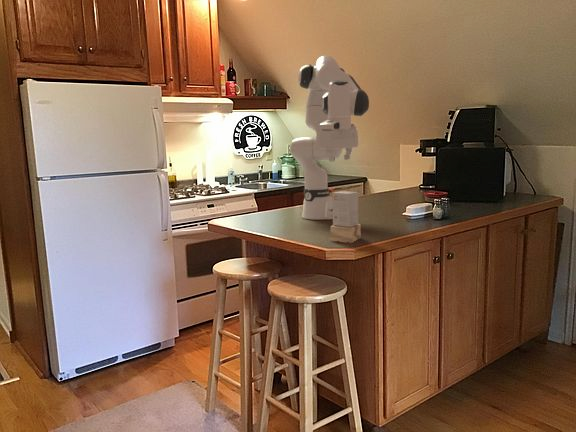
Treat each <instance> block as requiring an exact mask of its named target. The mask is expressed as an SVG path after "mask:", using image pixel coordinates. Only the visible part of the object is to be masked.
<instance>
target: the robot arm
mask: <svg viewBox="0 0 576 432" xmlns="http://www.w3.org/2000/svg"><path fill="white" fill-rule="evenodd" d="M297 80H298V84H299V86H300V88H302V89H306V90H307V89H308V91H307V96H306V103H305V104H306V106H305V124H306V125H305V126H307V127H308V128H309V129H311V130H312V131H315V134H316V136H301V137H297V138H294V139H293V140H292V141H291V142H290V145H289V152H290V155H291V157H293V159H295V160H296V161H297V162H298V164H299V165H300V166H301V169H302V171H303V179H304V188H303V196H304V199H303V204H302V205H303V206H302V213H301V218H302V219H305V220H333V196H331V194H333V192H334V189H333V188H328V182H329V181H328V173H327V171H326V170H325V169H324V168H322V167H321V166H319V165H318V164H317V161H329V162H336V159H338V158H339V157H340V156H341V155H342V153H343V149H345V154H344V155H343V158H344V160H346V161H349V160H350V159H351V154H352V152H353V148H358V145H359V135H358V130H357V127H356V125H355V124H354V123H352V116H354V117H355V116H356V117H362V116H363V115H364V114H366V113H367V112H368V111H369V107H370V100H369V96H368V94H367V92H365V90H363V89H362V88H361V87H360V85H359V84H358V83H357V81H356V80H355V78H354V77H353V76H352V75H350V74H348V73H347V72H345V69H344V68H341V67H340V65H339V63H338V61H337V60H336V59H335V58H334V57H333V56H331V55H327V54H325V55H322V56H320V57H319V58H317V60H316V62H315V64H306V65H303V66H302V67H300V69H299V71H298V75H297Z"/></svg>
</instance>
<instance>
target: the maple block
mask: <svg viewBox="0 0 576 432" xmlns="http://www.w3.org/2000/svg"><path fill="white" fill-rule="evenodd" d="M361 226H362V225H361V223H358V225H355V226H352V227H345V226H337V225H333V224H332V225H330V242H337V241H339V242H341V243H347V242H349V243H348V244H353V243H354V241H355V242H357V241H358V239H359V240H360V239H362V238H361V237H362V234H361V232H362V230H361V229H362V227H361ZM356 240H357V241H356ZM339 242H338V243H339Z"/></svg>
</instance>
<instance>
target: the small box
mask: <svg viewBox="0 0 576 432" xmlns="http://www.w3.org/2000/svg"><path fill="white" fill-rule="evenodd" d="M332 198H333V219H332V225H337V226H345V227H352V226H355V225H358V224H359V191H344V190H340V191H335V192H334V191H333V193H332Z"/></svg>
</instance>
